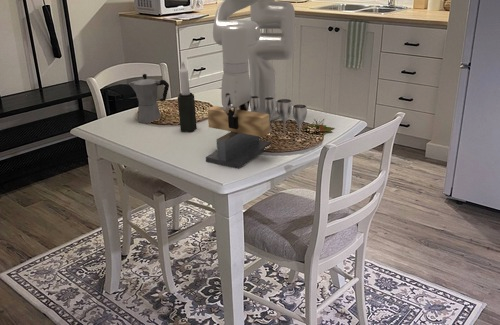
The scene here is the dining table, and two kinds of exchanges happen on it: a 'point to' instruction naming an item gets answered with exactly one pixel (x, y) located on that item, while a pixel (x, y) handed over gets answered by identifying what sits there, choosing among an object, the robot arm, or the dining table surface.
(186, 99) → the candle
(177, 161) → the dining table surface
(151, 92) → the coffeepot
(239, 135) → the steel ridge
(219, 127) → the oak beam
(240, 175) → the dining table surface
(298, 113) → the goblet set
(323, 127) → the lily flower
